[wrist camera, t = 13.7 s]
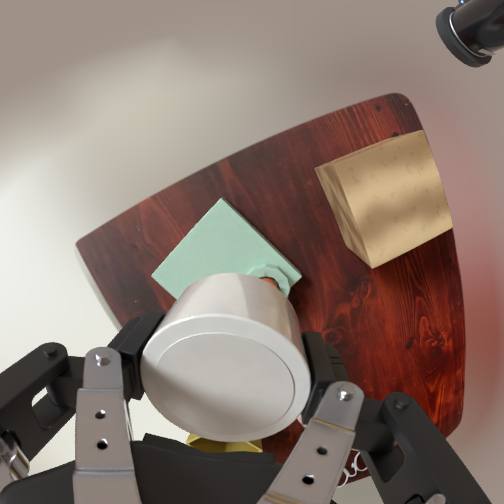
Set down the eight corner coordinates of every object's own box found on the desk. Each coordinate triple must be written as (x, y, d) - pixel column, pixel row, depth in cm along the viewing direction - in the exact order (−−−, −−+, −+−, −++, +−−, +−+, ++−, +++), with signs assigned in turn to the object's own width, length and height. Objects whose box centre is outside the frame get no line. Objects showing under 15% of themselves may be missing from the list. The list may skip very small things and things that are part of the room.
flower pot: (194, 407, 45) (183, 443, 36) (228, 385, 43) (222, 425, 35) (229, 431, 46) (224, 468, 38) (264, 413, 45) (264, 451, 36)
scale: (223, 196, 36) (219, 198, 33) (302, 273, 38) (305, 283, 35) (155, 271, 39) (146, 279, 35) (230, 338, 41) (227, 351, 38)
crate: (314, 168, 35) (332, 164, 25) (386, 139, 33) (423, 129, 24) (346, 246, 37) (372, 269, 27) (413, 214, 35) (453, 227, 26)
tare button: (266, 273, 35) (266, 277, 34) (282, 288, 35) (282, 293, 34) (249, 288, 36) (249, 293, 34) (265, 303, 36) (266, 308, 34)
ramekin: (171, 263, 12) (132, 299, 8) (311, 281, 12) (331, 327, 8) (170, 373, 14) (146, 427, 10) (286, 389, 14) (291, 449, 10)
